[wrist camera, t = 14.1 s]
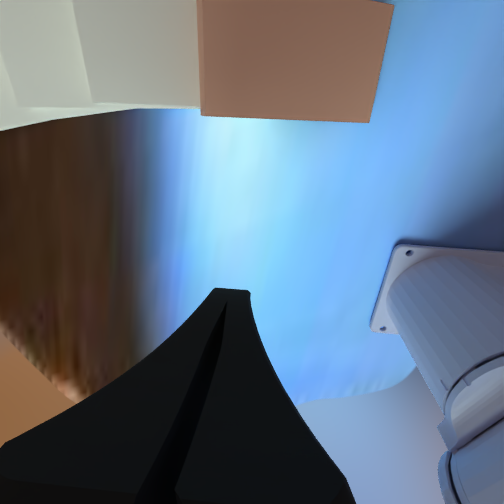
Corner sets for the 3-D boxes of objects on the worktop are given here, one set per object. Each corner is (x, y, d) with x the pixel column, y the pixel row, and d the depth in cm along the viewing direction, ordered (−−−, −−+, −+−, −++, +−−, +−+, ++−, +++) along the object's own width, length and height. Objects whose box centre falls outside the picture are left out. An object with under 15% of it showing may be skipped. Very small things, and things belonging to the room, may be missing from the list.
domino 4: (120, -12, 13) (-125, -8, 11) (152, 106, 16) (-40, 132, 13) (121, -2, 14) (-97, 5, 12) (149, 106, 17) (-25, 129, 14)
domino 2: (283, -10, 13) (59, -59, 10) (275, 109, 15) (92, 101, 12) (268, 1, 14) (67, -40, 11) (263, 109, 16) (95, 102, 13)
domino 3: (207, -10, 13) (-34, -48, 10) (213, 108, 15) (19, 107, 12) (200, 1, 14) (-16, -30, 11) (206, 108, 17) (29, 107, 14)
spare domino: (394, 5, 13) (200, -34, 10) (369, 123, 15) (205, 116, 12) (371, 14, 14) (195, -17, 12) (351, 121, 16) (200, 115, 14)
